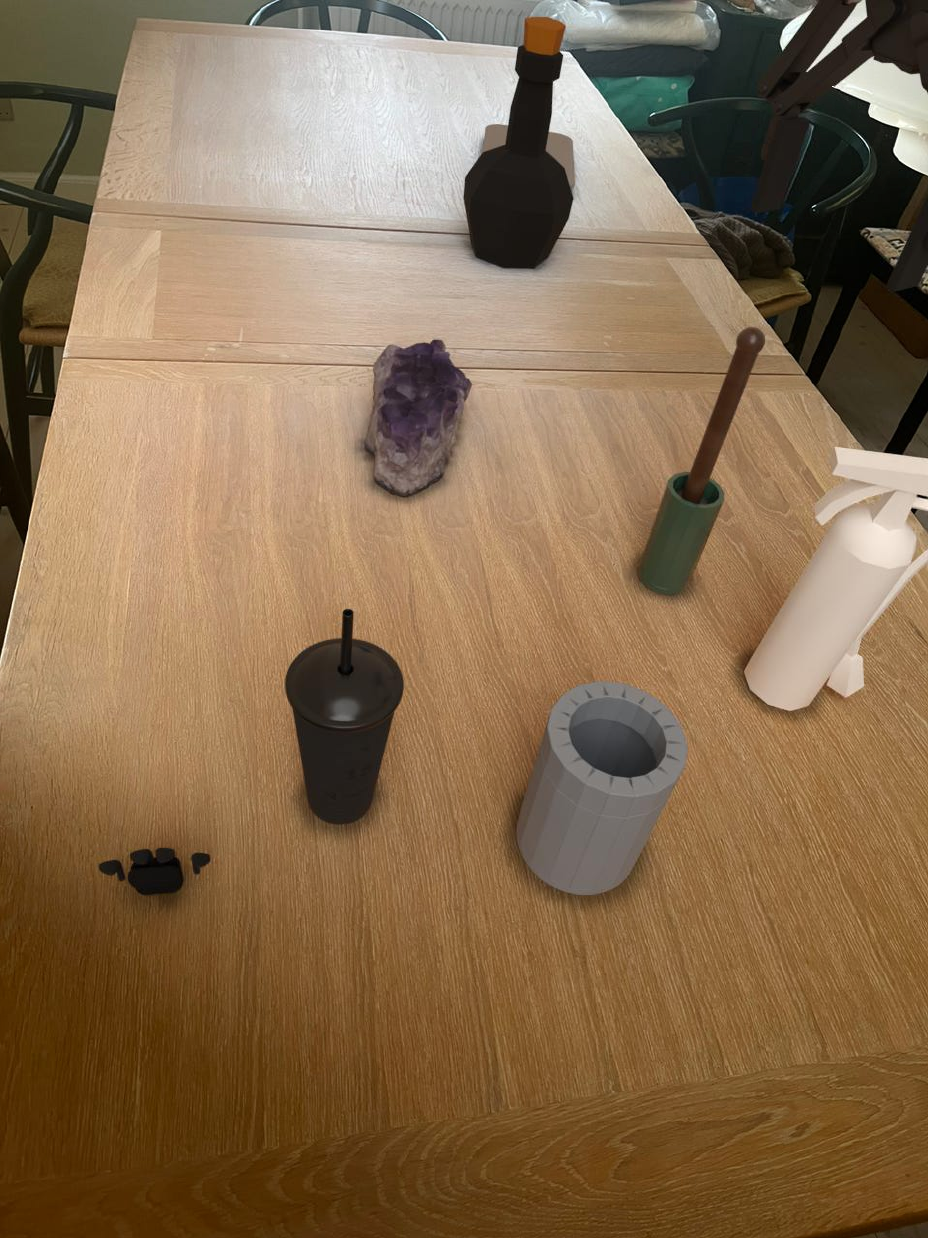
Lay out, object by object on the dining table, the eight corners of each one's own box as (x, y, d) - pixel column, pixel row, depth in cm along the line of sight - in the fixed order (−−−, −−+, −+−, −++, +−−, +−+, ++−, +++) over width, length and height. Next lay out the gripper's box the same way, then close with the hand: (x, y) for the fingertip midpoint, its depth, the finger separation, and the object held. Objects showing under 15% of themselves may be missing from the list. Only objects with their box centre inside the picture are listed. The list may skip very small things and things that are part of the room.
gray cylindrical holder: (642, 804, 72) (691, 700, 63) (629, 911, 66) (682, 813, 56) (528, 773, 73) (560, 666, 64) (504, 876, 66) (536, 774, 57)
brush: (649, 556, 92) (735, 314, 73) (680, 564, 92) (775, 323, 73) (646, 577, 90) (734, 333, 71) (678, 585, 89) (775, 342, 71)
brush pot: (690, 566, 93) (725, 479, 85) (686, 601, 89) (723, 513, 81) (639, 553, 93) (670, 466, 85) (634, 588, 90) (665, 499, 82)
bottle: (447, 263, 133) (473, 25, 112) (467, 219, 145) (494, -5, 123) (555, 284, 133) (602, 49, 111) (566, 239, 144) (611, 17, 123)
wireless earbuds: (213, 872, 64) (208, 835, 60) (213, 906, 62) (207, 869, 58) (107, 882, 62) (95, 844, 59) (103, 917, 61) (90, 880, 57)
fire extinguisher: (861, 731, 80) (1020, 510, 62) (724, 700, 81) (842, 471, 63) (853, 674, 85) (998, 453, 67) (724, 645, 85) (834, 418, 68)
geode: (468, 506, 95) (466, 427, 88) (357, 504, 96) (346, 425, 88) (474, 393, 109) (474, 315, 101) (377, 392, 109) (369, 315, 102)
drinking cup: (267, 789, 69) (257, 601, 55) (349, 739, 73) (359, 552, 59) (329, 861, 65) (335, 681, 51) (411, 804, 69) (437, 623, 55)
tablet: (477, 188, 154) (479, 174, 152) (484, 134, 172) (486, 121, 170) (572, 202, 155) (575, 188, 153) (569, 147, 173) (572, 135, 171)
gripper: (774, -156, 59) (681, 186, 74) (1140, -63, 45) (934, 334, 60) (851, -150, 62) (747, 176, 77) (1213, -62, 48) (1001, 314, 63)
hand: (829, 246), depth 69 cm, fingers open, 13 cm apart
